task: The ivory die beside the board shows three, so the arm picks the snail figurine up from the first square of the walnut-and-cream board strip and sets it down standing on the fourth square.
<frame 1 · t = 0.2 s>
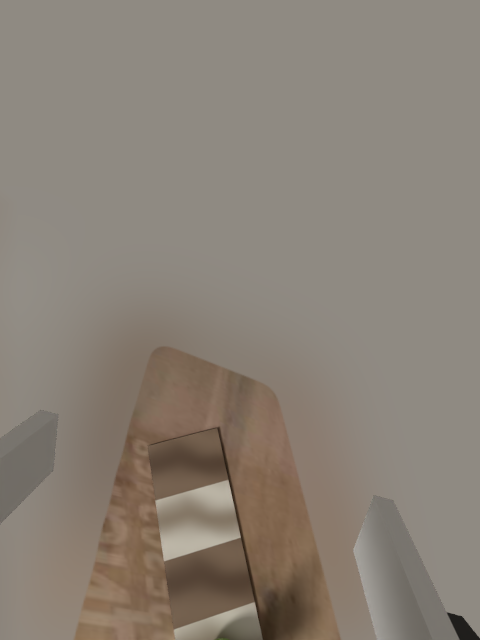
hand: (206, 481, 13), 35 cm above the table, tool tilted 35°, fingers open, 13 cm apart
game board: (203, 548, 42), on the table
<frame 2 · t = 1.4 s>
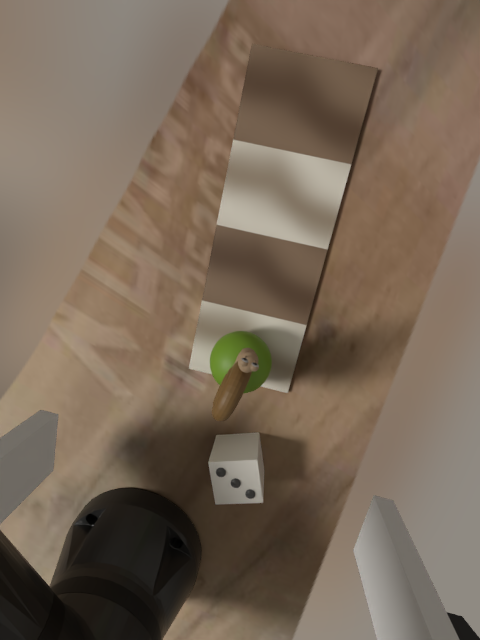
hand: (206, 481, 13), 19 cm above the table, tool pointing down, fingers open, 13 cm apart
die: (240, 452, 34), on the table
snail figurine: (245, 347, 31), resting on game board
game board: (271, 237, 29), on the table
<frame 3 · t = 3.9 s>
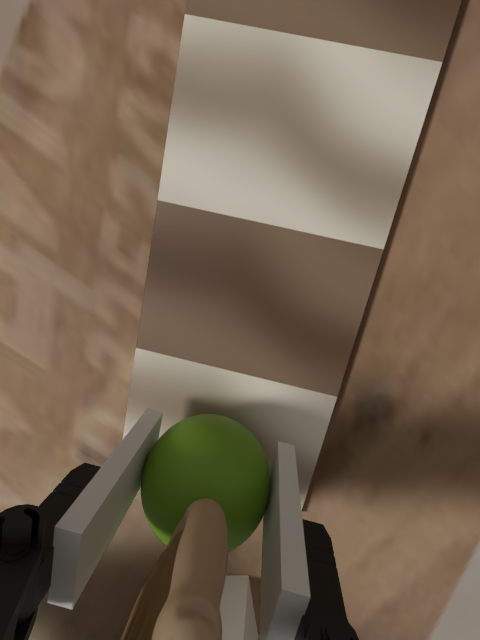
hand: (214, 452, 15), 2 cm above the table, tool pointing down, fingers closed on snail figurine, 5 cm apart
die: (216, 604, 19), on the table
snail figurine: (221, 432, 17), resting on game board, touching gripper
game board: (268, 224, 14), on the table
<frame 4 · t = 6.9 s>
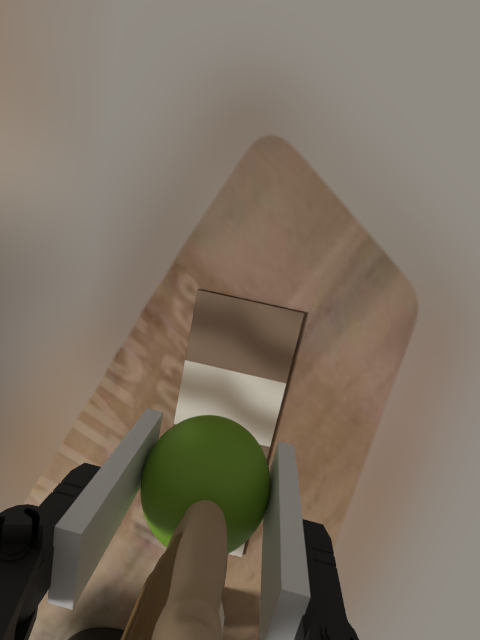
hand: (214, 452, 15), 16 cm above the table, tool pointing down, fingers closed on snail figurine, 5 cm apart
snail figurine: (221, 433, 17), point 15 cm above the table, touching gripper
game board: (222, 433, 33), on the table
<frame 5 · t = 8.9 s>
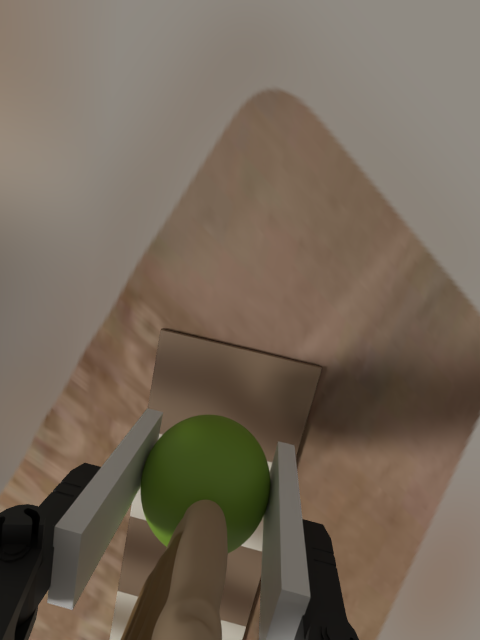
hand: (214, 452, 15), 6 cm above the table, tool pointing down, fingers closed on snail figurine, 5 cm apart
snail figurine: (221, 433, 17), point 4 cm above the table, touching gripper
game board: (199, 530, 23), on the table
when the fingers open (3 cm above the table, at t = 10.2 s): snail figurine drops 1 cm, resting on game board.
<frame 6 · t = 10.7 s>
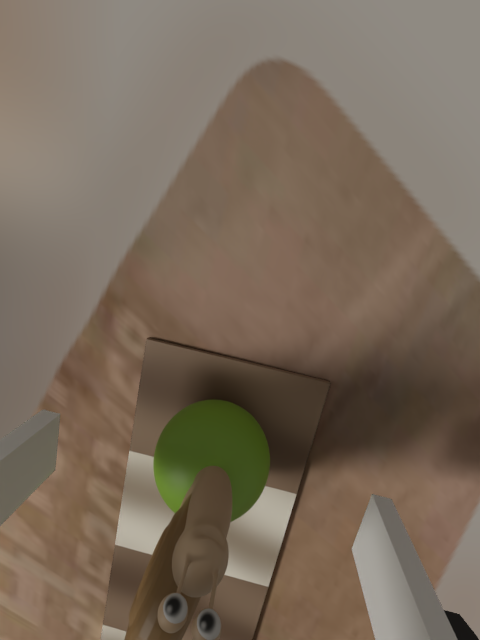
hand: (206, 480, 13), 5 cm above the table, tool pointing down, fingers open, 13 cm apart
snail figurine: (225, 419, 18), resting on game board
game board: (191, 561, 21), on the table
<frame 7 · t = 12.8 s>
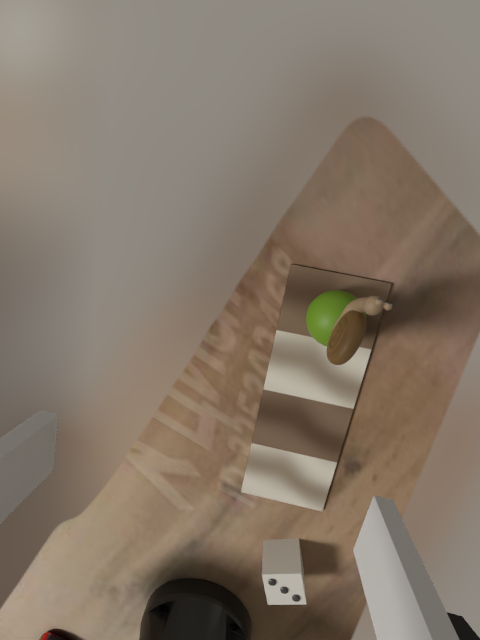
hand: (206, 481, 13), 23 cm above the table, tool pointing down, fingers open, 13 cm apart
die: (283, 553, 42), on the table
snail figurine: (332, 308, 33), resting on game board
game board: (307, 397, 36), on the table
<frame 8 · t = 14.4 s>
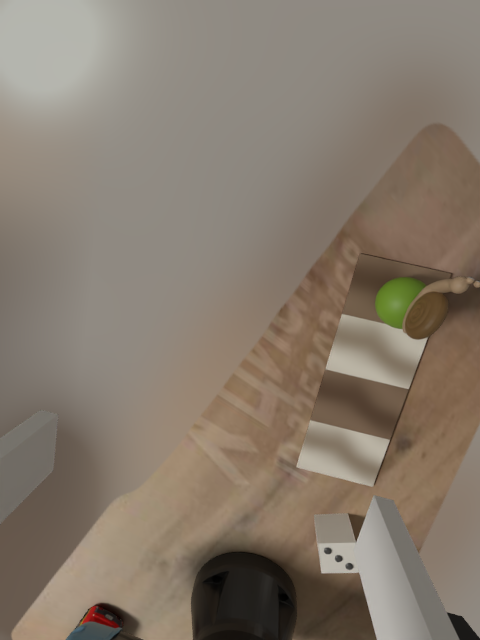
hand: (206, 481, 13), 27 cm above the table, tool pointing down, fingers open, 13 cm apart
die: (332, 527, 44), on the table
race car: (93, 633, 54), on the table
snail figurine: (395, 294, 36), resting on game board
game board: (366, 378, 39), on the table
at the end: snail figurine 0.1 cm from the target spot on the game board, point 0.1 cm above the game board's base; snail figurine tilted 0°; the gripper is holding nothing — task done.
